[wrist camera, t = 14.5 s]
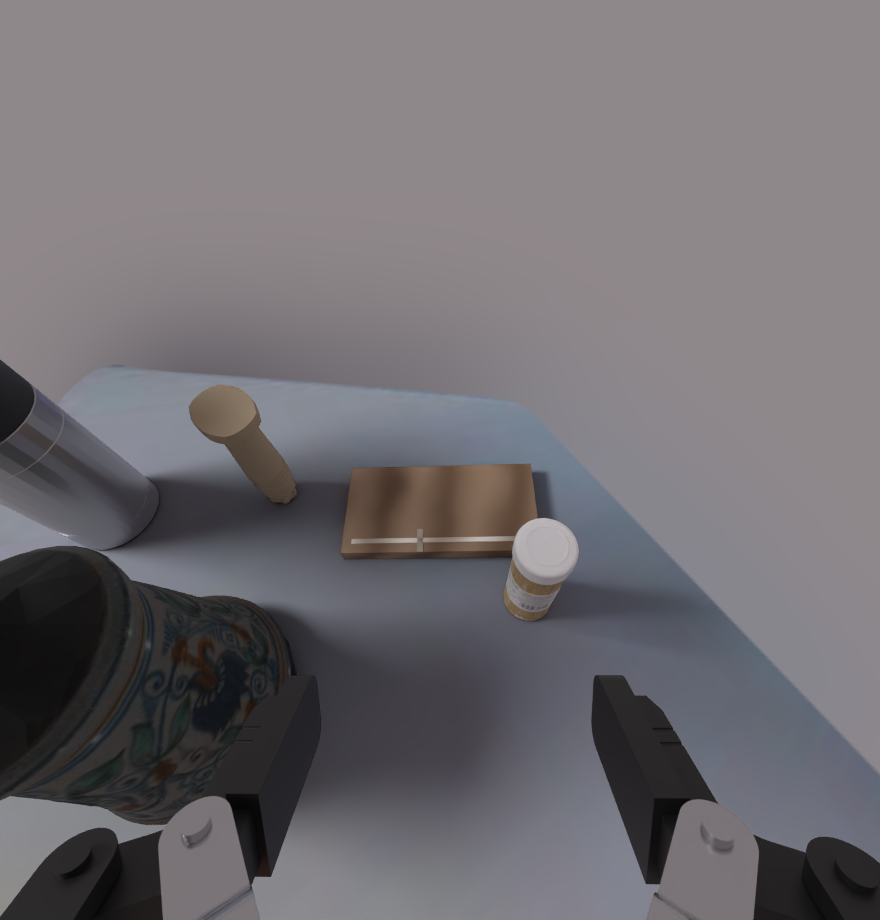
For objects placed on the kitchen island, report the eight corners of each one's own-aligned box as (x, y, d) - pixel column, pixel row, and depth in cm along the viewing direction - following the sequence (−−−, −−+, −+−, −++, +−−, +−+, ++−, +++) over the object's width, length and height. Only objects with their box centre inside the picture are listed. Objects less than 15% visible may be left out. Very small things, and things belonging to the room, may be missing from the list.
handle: (283, 464, 52) (223, 376, 39) (318, 493, 50) (267, 409, 37) (251, 492, 50) (177, 409, 38) (286, 524, 48) (220, 446, 35)
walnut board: (344, 559, 45) (340, 552, 43) (355, 476, 50) (351, 467, 49) (539, 556, 44) (541, 549, 42) (528, 472, 49) (530, 463, 48)
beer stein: (301, 796, 35) (40, 881, 14) (52, 845, 34) (-630, 1015, 13) (303, 591, 44) (148, 452, 23) (107, 626, 43) (-242, 516, 22)
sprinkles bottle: (555, 583, 42) (585, 526, 31) (544, 629, 40) (573, 586, 29) (509, 568, 44) (523, 508, 32) (496, 612, 41) (506, 564, 30)
